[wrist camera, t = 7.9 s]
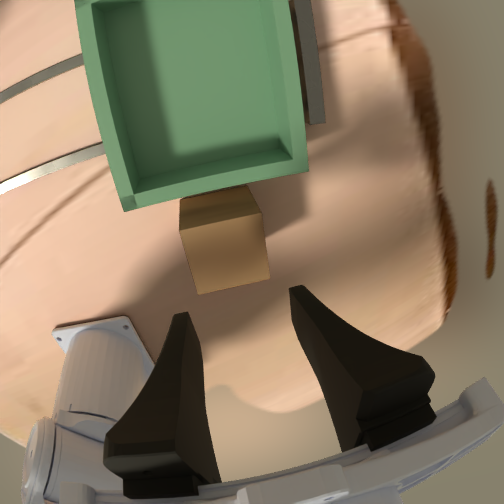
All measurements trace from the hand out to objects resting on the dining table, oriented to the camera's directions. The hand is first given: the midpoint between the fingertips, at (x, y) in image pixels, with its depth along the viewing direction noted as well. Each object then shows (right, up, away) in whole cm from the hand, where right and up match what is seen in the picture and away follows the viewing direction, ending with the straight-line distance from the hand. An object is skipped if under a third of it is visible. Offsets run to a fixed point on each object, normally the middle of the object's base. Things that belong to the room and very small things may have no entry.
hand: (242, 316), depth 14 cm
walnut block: (-2, +5, +8) cm, 10 cm away
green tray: (-3, +13, +2) cm, 14 cm away
